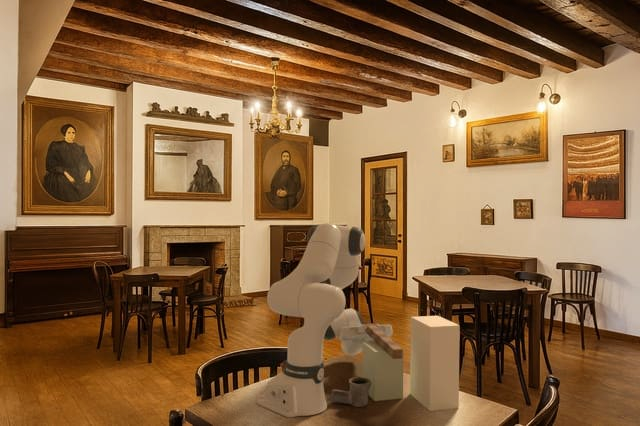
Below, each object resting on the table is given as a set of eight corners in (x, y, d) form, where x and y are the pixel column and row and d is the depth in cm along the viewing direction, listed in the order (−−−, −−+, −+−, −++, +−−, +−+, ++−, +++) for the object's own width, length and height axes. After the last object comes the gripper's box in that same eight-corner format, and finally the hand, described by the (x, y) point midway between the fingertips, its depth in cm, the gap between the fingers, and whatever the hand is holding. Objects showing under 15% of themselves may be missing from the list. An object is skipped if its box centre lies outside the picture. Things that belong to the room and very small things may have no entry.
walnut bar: (365, 331, 169) (365, 323, 169) (372, 331, 170) (373, 323, 170) (393, 359, 144) (393, 349, 144) (402, 358, 145) (402, 349, 144)
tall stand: (410, 393, 156) (410, 316, 156) (436, 391, 159) (437, 315, 158) (429, 411, 142) (430, 327, 142) (458, 408, 145) (459, 325, 145)
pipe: (332, 399, 151) (333, 375, 151) (372, 402, 149) (372, 377, 149) (330, 407, 145) (330, 381, 145) (371, 410, 143) (371, 384, 143)
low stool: (362, 387, 161) (362, 341, 161) (388, 385, 164) (389, 340, 164) (374, 401, 150) (374, 351, 150) (402, 398, 152) (403, 349, 152)
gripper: (333, 330, 177) (343, 319, 166) (383, 327, 182) (396, 316, 171) (335, 346, 174) (345, 336, 162) (386, 343, 179) (399, 333, 168)
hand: (371, 326), depth 167 cm, fingers closed on walnut bar, 3 cm apart
